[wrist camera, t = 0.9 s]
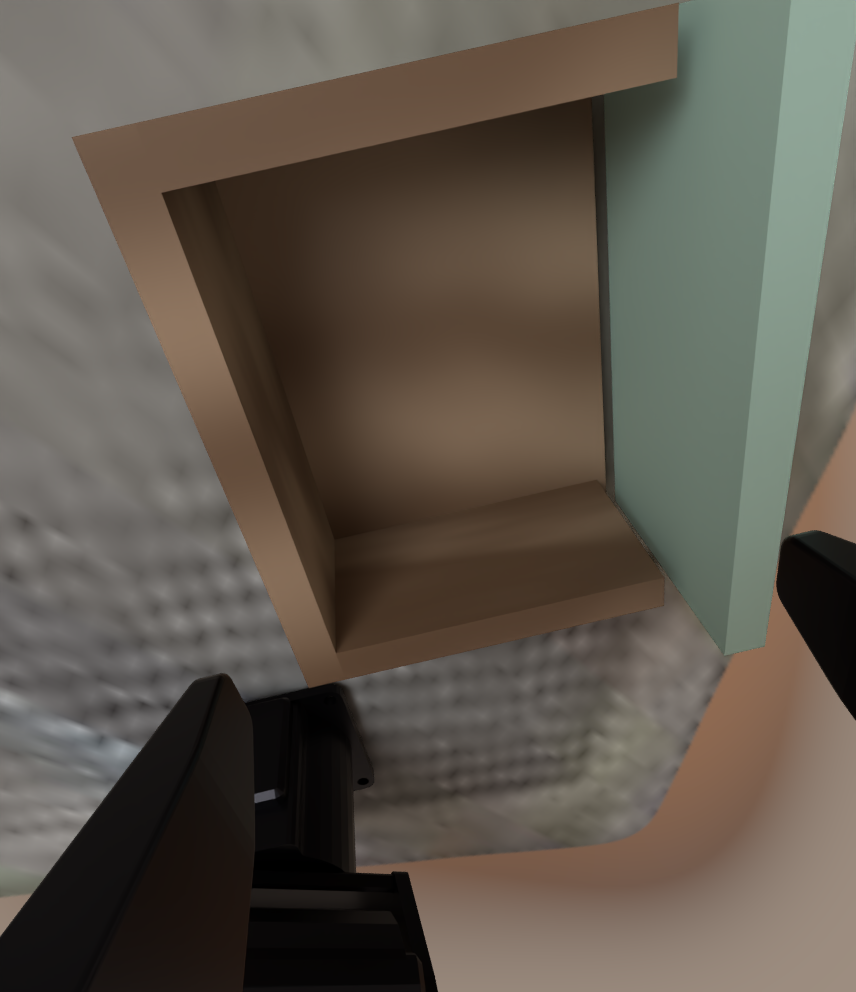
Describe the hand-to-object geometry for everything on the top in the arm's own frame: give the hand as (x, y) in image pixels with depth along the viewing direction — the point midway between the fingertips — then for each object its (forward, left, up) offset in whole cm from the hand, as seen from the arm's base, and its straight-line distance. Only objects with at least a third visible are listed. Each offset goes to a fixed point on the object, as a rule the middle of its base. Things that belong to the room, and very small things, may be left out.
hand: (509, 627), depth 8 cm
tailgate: (0, -6, -11) cm, 12 cm away
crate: (0, 0, -12) cm, 12 cm away
